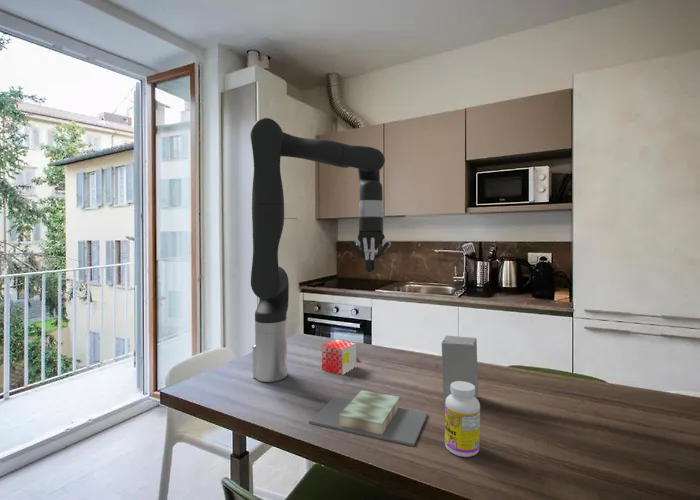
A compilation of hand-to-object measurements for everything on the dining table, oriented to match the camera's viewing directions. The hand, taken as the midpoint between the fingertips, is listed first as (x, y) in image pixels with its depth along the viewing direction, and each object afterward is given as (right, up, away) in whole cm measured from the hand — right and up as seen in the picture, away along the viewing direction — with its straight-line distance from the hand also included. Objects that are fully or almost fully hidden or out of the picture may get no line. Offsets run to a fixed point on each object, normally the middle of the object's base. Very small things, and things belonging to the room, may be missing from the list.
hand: (370, 272), depth 116 cm
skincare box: (+22, -32, -19) cm, 43 cm away
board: (+1, -30, -22) cm, 37 cm away
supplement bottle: (+16, -33, -41) cm, 55 cm away
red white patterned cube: (-10, -31, +3) cm, 33 cm away
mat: (-2, -32, -29) cm, 44 cm away
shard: (-7, -31, +15) cm, 35 cm away
